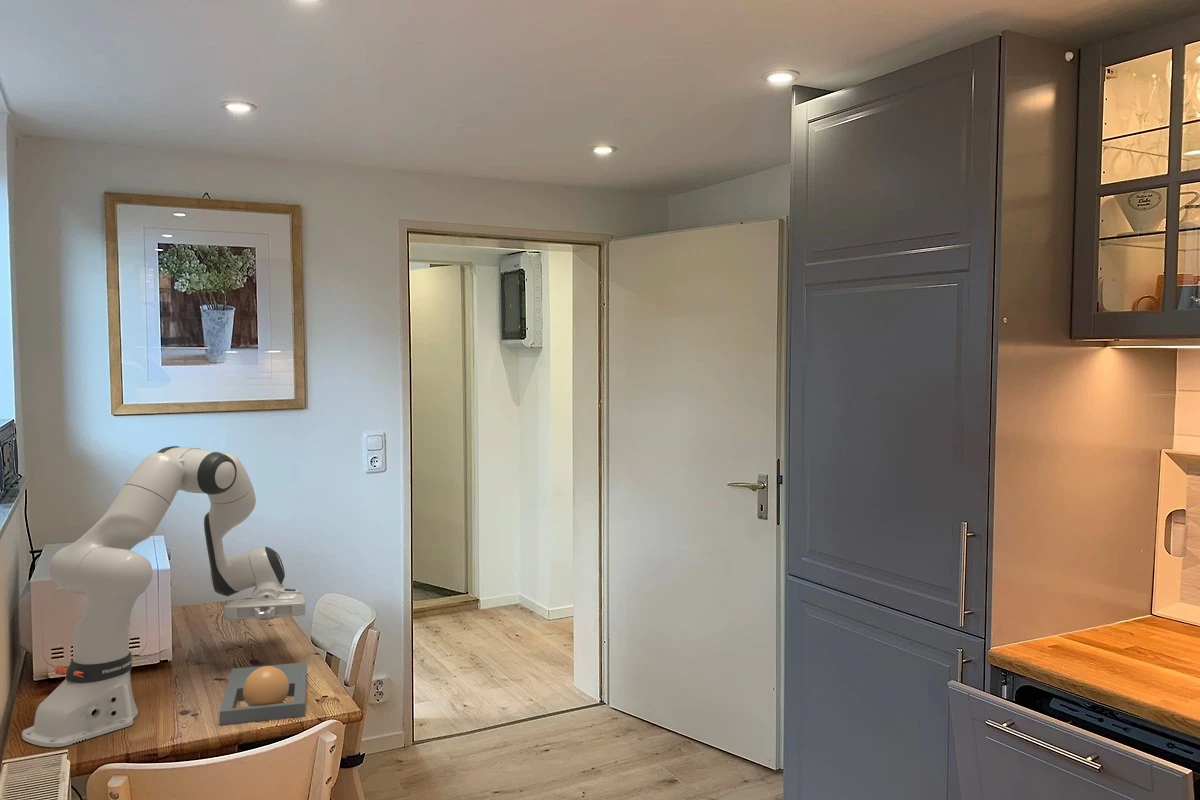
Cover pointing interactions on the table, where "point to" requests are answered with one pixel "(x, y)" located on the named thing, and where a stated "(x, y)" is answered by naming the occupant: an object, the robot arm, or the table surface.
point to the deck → (264, 712)
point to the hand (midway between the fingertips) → (263, 615)
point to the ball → (265, 686)
